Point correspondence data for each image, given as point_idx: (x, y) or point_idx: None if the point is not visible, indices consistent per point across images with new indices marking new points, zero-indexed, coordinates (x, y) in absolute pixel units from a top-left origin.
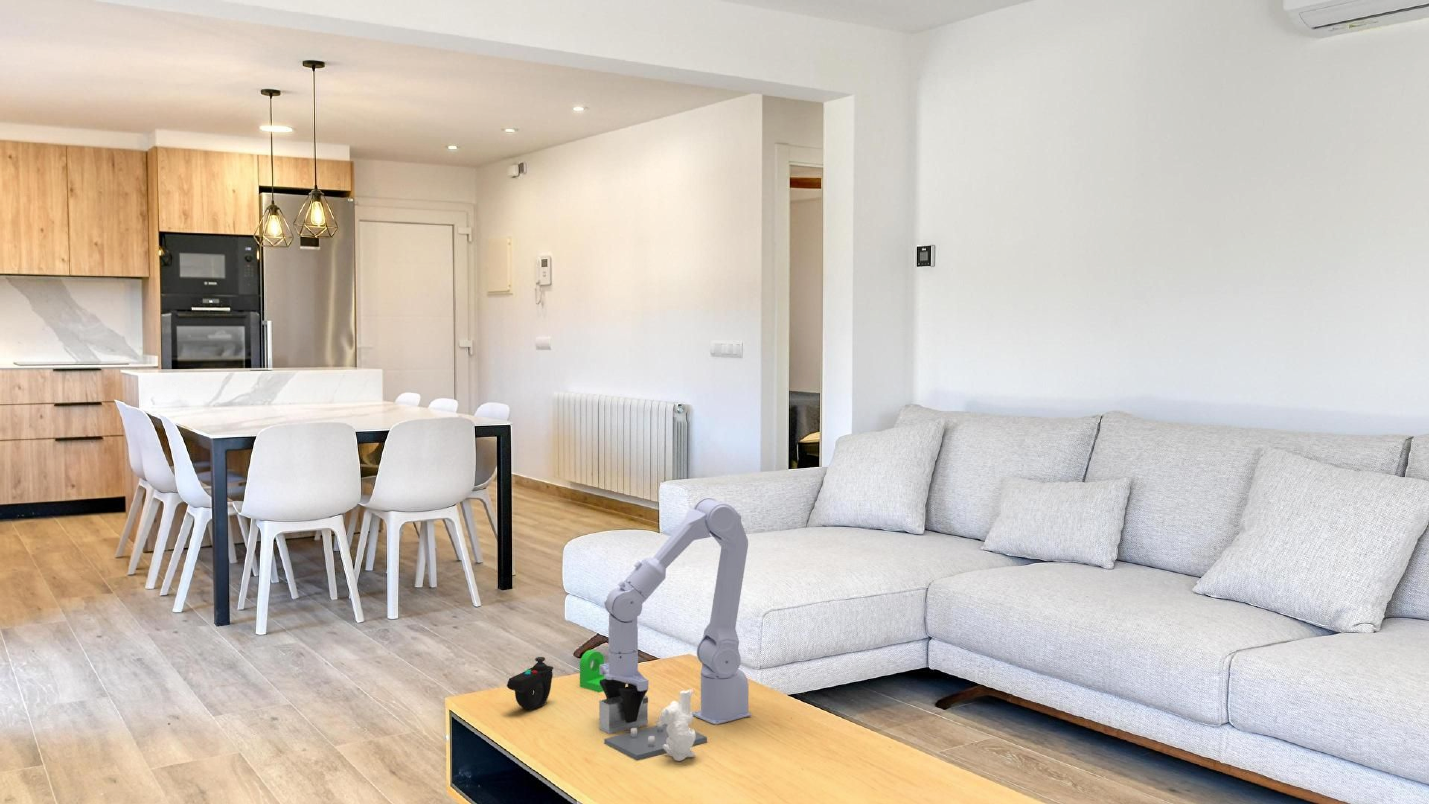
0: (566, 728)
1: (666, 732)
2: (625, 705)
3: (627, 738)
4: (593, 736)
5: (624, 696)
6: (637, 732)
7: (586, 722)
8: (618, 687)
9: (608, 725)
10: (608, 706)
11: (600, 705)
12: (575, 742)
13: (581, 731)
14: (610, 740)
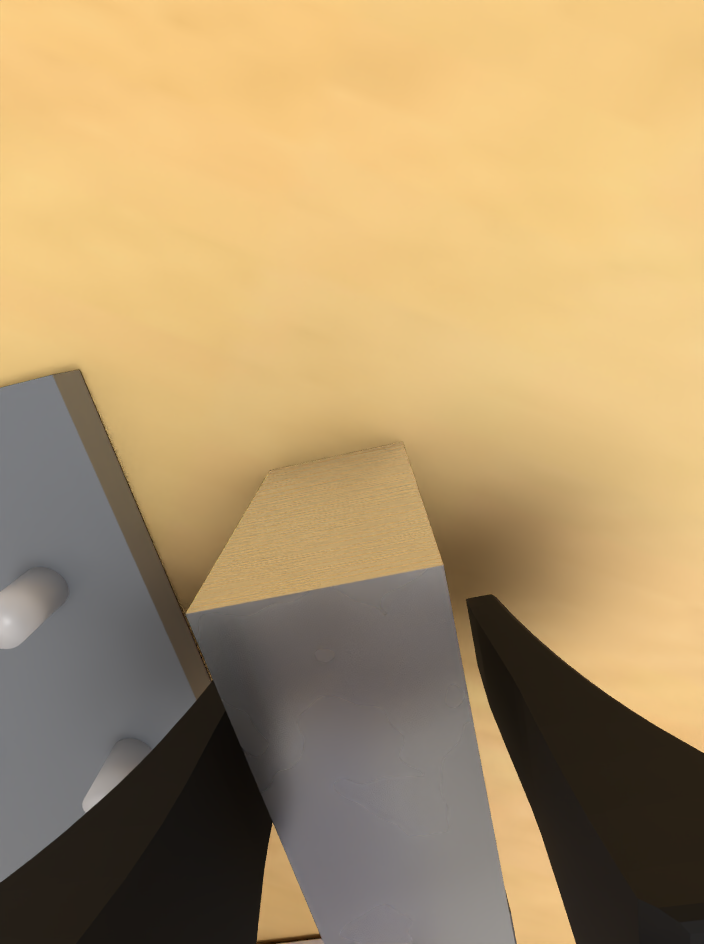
0: (592, 187)
1: (84, 770)
2: (159, 761)
3: (23, 539)
4: (286, 351)
5: (25, 895)
6: (137, 636)
7: (630, 410)
8: (587, 940)
9: (262, 495)
10: (208, 597)
11: (405, 539)
12: (193, 142)
13: (446, 296)
14: (1, 409)
